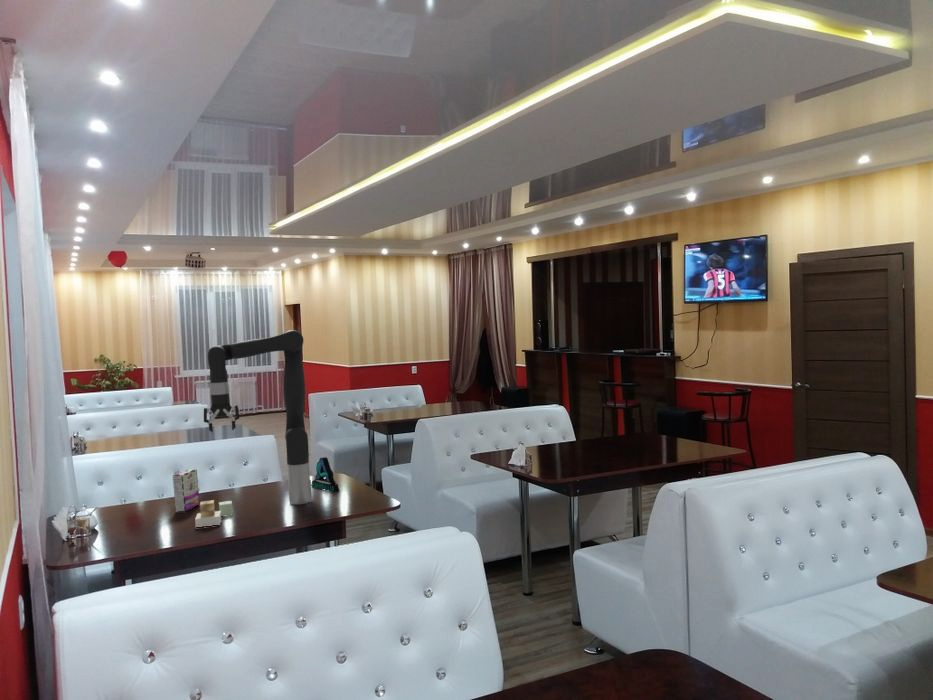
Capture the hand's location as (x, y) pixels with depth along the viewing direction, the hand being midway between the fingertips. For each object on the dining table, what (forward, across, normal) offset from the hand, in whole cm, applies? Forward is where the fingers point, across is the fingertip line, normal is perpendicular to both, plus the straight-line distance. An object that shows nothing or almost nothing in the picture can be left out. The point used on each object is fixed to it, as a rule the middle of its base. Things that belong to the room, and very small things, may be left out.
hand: (222, 430), depth 300 cm
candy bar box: (+34, +16, -12) cm, 40 cm away
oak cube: (+30, +8, +18) cm, 36 cm away
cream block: (+34, +8, +18) cm, 40 cm away
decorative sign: (+34, -44, -14) cm, 58 cm away
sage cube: (+34, +1, +7) cm, 35 cm away
